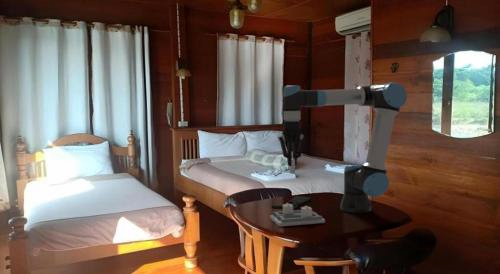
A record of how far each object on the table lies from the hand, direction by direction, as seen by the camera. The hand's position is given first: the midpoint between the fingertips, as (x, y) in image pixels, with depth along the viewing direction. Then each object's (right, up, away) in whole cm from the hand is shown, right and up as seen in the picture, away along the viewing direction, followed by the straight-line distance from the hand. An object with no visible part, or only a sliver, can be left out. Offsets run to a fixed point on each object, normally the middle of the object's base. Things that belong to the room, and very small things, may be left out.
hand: (292, 173), depth 182 cm
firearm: (+3, -21, +39) cm, 44 cm away
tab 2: (+7, -21, +3) cm, 22 cm away
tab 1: (-1, -21, +9) cm, 23 cm away
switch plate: (+3, -23, +6) cm, 24 cm away
